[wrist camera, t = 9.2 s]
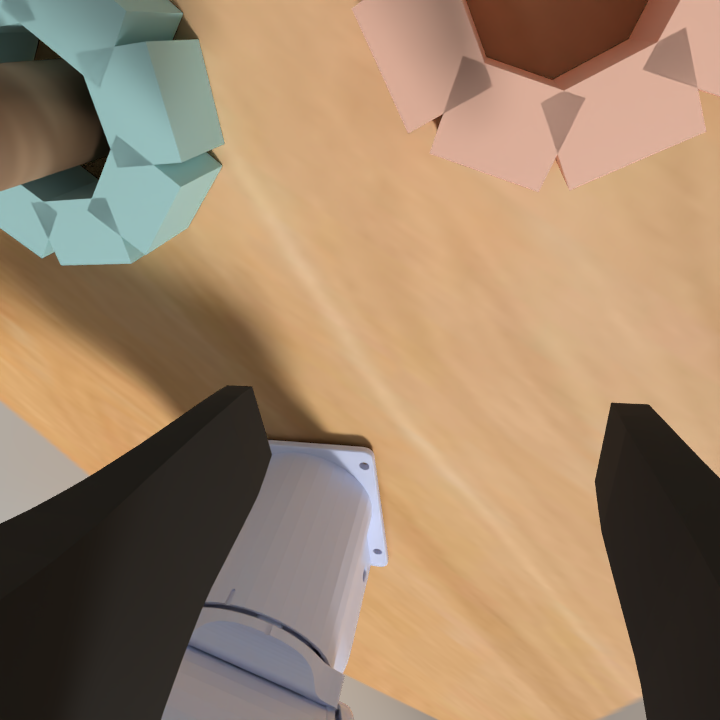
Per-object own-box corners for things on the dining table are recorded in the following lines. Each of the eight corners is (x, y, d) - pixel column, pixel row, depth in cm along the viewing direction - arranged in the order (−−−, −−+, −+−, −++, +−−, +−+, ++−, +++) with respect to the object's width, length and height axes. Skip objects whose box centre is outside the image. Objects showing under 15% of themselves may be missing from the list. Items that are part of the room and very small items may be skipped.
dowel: (147, 148, 18) (-39, 213, 12) (79, 158, 19) (-128, 224, 13) (111, 49, 17) (-128, 64, 10) (39, 65, 18) (-223, 87, 11)
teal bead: (246, 232, 19) (211, 261, 17) (49, 240, 22) (-6, 267, 19) (165, -96, 14) (96, -121, 12) (-84, -36, 17) (-182, -47, 14)
